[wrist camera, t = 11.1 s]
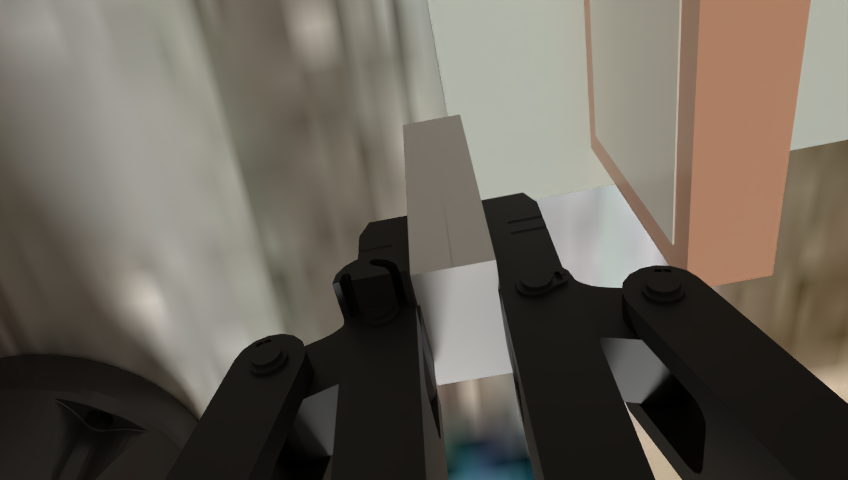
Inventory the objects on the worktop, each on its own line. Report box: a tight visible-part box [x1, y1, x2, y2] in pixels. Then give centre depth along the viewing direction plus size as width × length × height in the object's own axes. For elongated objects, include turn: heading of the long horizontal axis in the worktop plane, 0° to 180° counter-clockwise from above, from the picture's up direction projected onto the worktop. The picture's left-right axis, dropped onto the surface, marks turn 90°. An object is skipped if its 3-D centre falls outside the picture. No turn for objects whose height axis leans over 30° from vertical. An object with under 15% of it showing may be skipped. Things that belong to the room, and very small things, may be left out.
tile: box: [584, 0, 811, 287], centre depth 20 cm, size 3×10×10 cm, turn 11°
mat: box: [427, 0, 848, 200], centre depth 24 cm, size 20×14×1 cm
